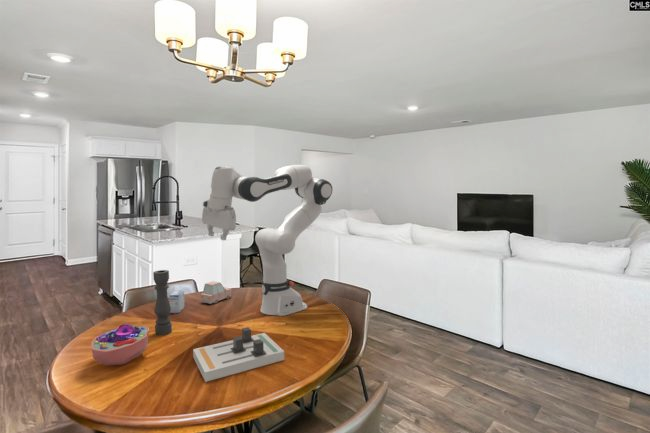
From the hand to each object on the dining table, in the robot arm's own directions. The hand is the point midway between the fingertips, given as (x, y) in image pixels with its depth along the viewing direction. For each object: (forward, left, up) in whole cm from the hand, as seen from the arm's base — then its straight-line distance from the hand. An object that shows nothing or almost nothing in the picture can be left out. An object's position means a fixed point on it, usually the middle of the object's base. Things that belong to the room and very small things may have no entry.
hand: (216, 237), depth 146 cm
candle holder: (+21, -5, -38) cm, 44 cm away
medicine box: (+12, -30, -38) cm, 50 cm away
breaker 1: (-3, +27, -34) cm, 44 cm away
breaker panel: (+2, +33, -38) cm, 50 cm away
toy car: (-8, -36, -38) cm, 53 cm away
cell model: (+36, +13, -38) cm, 54 cm away
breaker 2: (-3, +39, -34) cm, 52 cm away
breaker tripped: (+2, +33, -34) cm, 47 cm away
